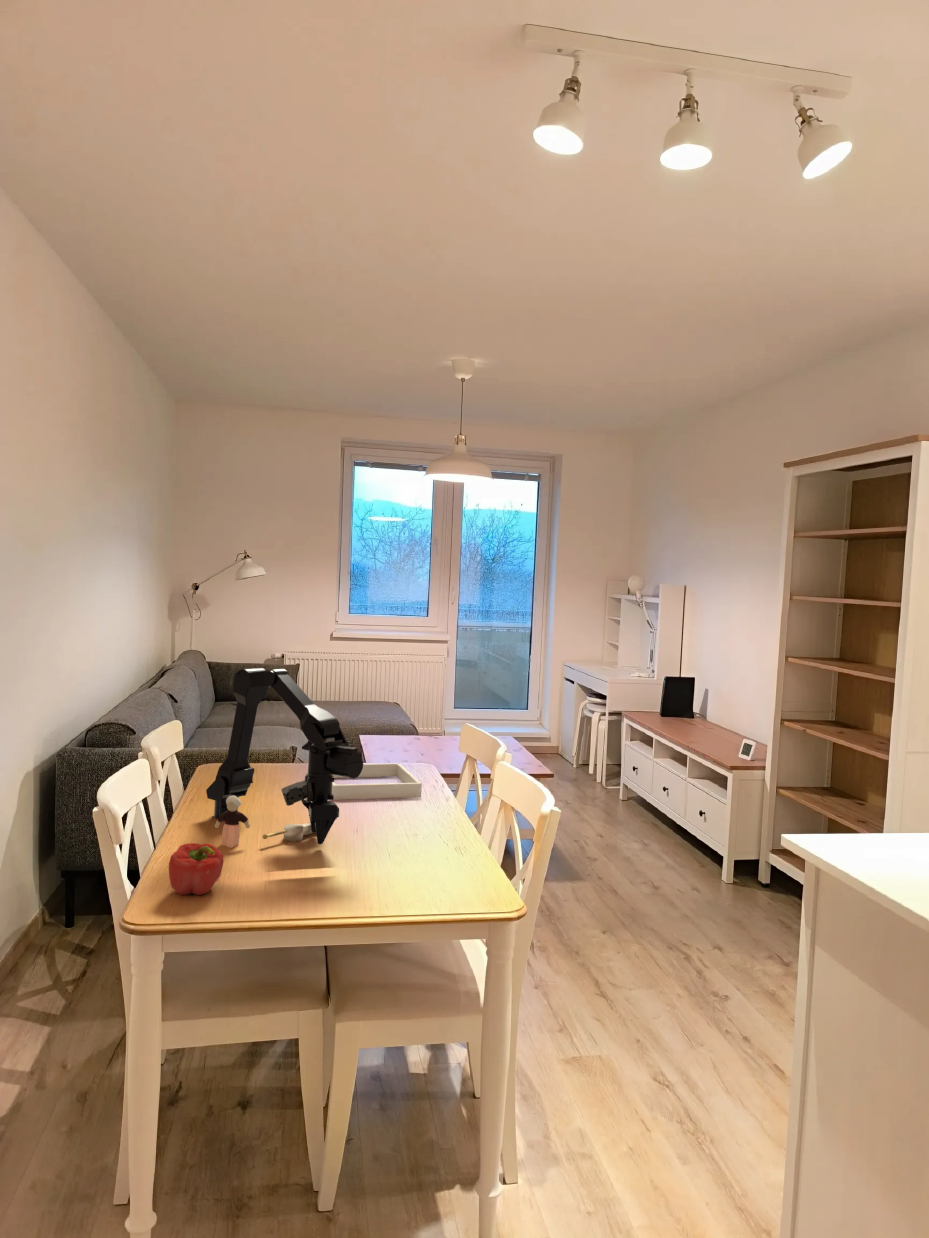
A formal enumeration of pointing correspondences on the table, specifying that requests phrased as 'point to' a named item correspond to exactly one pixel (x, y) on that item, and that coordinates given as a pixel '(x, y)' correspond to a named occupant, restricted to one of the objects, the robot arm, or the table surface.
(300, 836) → the beige dial pointer lever
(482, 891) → the table surface
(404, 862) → the table surface
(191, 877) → the vegetable
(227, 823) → the grandmother figurine
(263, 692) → the robot arm
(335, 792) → the tray
